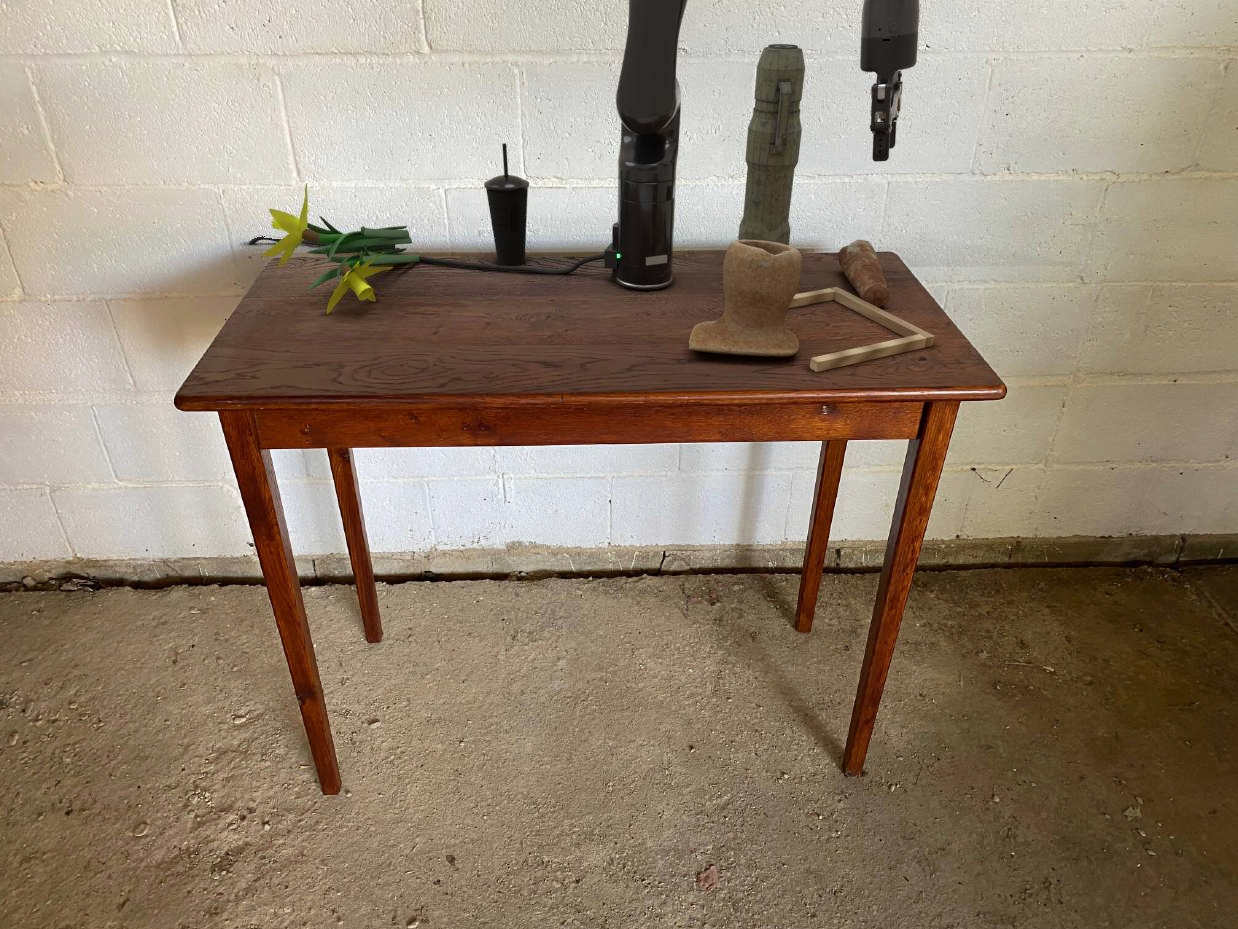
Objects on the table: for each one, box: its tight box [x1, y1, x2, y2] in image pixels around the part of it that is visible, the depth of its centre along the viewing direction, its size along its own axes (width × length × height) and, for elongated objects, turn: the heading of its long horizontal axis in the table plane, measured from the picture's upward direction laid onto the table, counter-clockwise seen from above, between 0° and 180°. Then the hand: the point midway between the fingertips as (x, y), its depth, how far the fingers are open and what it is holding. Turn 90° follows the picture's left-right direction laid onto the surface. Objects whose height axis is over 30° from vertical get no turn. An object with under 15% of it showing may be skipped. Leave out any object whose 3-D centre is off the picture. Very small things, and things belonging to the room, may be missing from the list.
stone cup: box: [688, 239, 803, 357], centre depth 115 cm, size 15×12×15 cm
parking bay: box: [788, 286, 935, 373], centre depth 124 cm, size 20×22×2 cm
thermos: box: [737, 43, 806, 246], centre depth 140 cm, size 9×12×35 cm
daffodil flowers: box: [261, 183, 422, 315], centre depth 132 cm, size 17×15×35 cm
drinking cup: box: [483, 142, 530, 266], centre depth 144 cm, size 8×8×20 cm
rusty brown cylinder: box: [837, 239, 890, 308], centre depth 137 cm, size 6×19×6 cm, turn 175°
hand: (884, 154), depth 123 cm, fingers open, 8 cm apart
